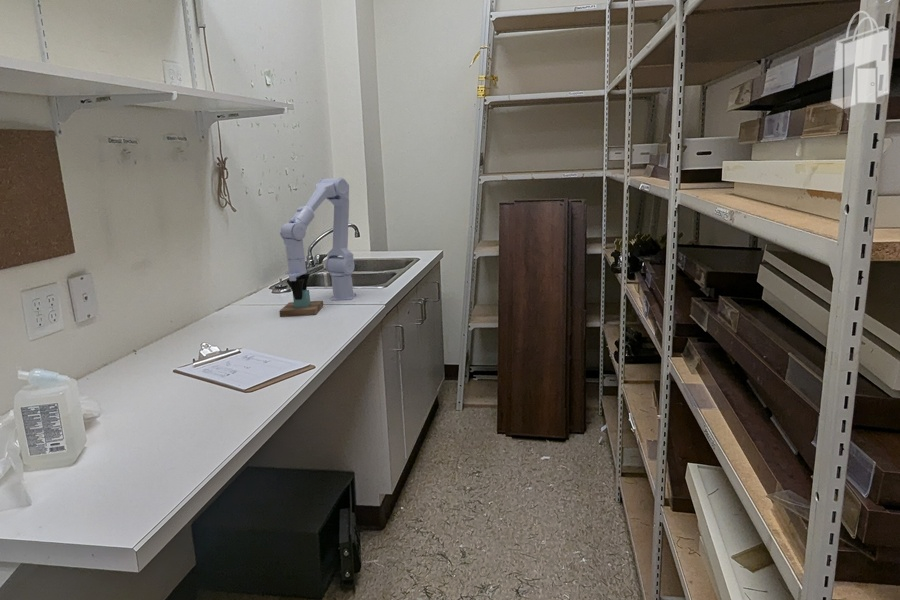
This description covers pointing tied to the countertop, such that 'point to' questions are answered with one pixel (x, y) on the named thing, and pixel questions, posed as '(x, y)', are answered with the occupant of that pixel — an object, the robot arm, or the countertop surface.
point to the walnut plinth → (301, 309)
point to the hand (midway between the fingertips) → (300, 297)
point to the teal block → (302, 300)
